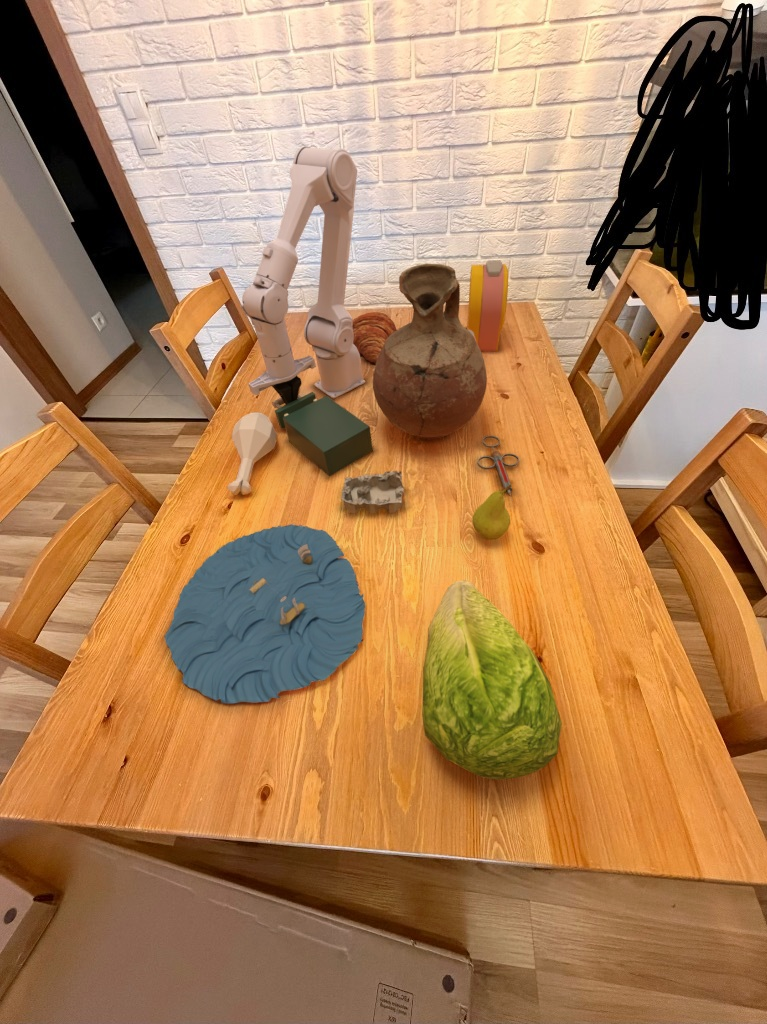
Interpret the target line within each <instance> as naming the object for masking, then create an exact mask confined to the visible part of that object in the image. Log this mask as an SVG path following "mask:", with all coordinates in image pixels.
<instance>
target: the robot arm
mask: <svg viewBox="0 0 767 1024" xmlns="http://www.w3.org/2000/svg"><path fill="white" fill-rule="evenodd" d="M289 176H290V180H291V187H290V190H289V194H288V198H287V201H286V204H285V208H284V211H283V215H282V219H281V222H280V226H279V229H278V233H277V237H276V238H275V239H273V240H271V241H268V242H267V244H266V246H265V247H263V250H262V257H261V260H260V263H259V266H258V269H257V271H256V274H255V277H254V279H253V283H251V284H249V286H247V287H246V288H245V290H244V291H243V293H242V297H241V298H242V300H241V301H242V304H241V305H240V308H241V310H242V312H243V313H244V314H245V315H246V316H247V317H248V318H249V319H250V321H251V325H252V326H253V327H254V330H255V334H256V337H257V341H258V344H259V348H260V352H261V355H262V358H263V361H264V365H265V369H266V370H265V371H264V372H263V373H262V374H260V375H259V376H258V377H257V378H255V379H254V380H251V382H248V387H249V390H250V393H252V394H253V395H254V396H258V395H260V393H261V392H262V391H264V390H266V389H268V388H271V387H272V388H273V389H274V390H275V392H276V393H277V394H278V395H279V398H282V400H283V401H284V405H286V404H289V403H291V402H293V401H295V400H297V399H298V394H299V392H300V389H301V386H302V379H301V377H299V374H301V373H302V372H304V371H307V370H309V369H312V370H313V369H316V367H317V369H318V374H319V379H320V380H318V381H316V382H315V383H314V384H313V386H314V387H315V388H317V389H318V390H320V392H322V393H324V394H325V395H326V396H327V397H329V398H330V399H332V400H333V399H336V398H339V397H340V396H342V395H344V394H346V393H348V392H350V391H352V390H354V389H356V388H357V387H360V386H362V385H364V384H365V383H366V380H365V379H364V375H363V367H362V359H361V354H360V353H359V352H358V349H357V348H356V346H355V345H354V344H353V340H354V334H353V328H352V324H353V317H352V315H351V314H350V312H349V311H348V310H347V309H346V307H345V300H346V299H345V297H346V290H347V279H348V270H349V261H350V250H351V241H352V234H353V233H352V230H353V224H354V223H353V221H354V211H355V197H356V189H357V188H356V186H357V179H358V177H357V176H358V169H357V166H356V164H355V162H354V160H353V158H352V156H351V154H350V153H349V152H348V150H346V149H344V148H337V149H334V148H321V147H319V148H318V147H311V146H306V145H303V146H301V147H300V148H298V149H297V151H296V152H295V154H294V157H293V163H292V165H291V167H290V168H289ZM317 206H319V207H320V209H321V211H322V212H323V216H324V217H323V229H322V243H321V255H320V268H319V280H318V281H319V282H318V294H317V302H316V303H315V304H314V305H313V306H312V307H310V308H309V309H308V313H307V314H308V316H307V319H306V322H305V325H304V327H303V337H304V340H305V342H306V343H307V344H308V345H310V346H311V348H312V349H311V350H312V351H313V352H314V354H315V358H316V360H315V358H314V357H312V356H311V355H307V356H304V357H301V358H297V359H295V357H294V354H293V349H292V346H291V345H292V344H291V340H290V337H289V332H288V328H287V324H286V320H285V317H286V315H287V313H288V312H289V300H288V297H289V286H290V283H291V281H292V280H293V279H292V278H293V276H294V273H295V271H296V268H297V265H298V262H299V257H298V255H297V250H296V248H297V245H298V243H299V242H300V240H301V237H302V235H303V232H304V230H305V229H306V226H307V224H308V222H309V220H310V217H311V215H312V213H313V210H314V208H315V207H317ZM316 362H317V366H316Z"/></svg>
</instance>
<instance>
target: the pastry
mask: <svg viewBox="0 0 767 1024" xmlns="http://www.w3.org/2000/svg"><path fill="white" fill-rule="evenodd" d="M352 328H353V334H354V340H353V344H354V345H355V346H356V348H357V349H358V352H359V354H360V355H361V356H363V357H364V359H365V360H367V361H368V362H370V363H372V364H376V361H377V359H378V356H379V354H380V352H381V349H382V348H383V346H384V344H385V341H386V339H387V338H388V337H389V336H390V335H391V334H392V333H393V332H395V331H396V330H397V326H396V324H395V322H394V321H393V319H392V318H390V317H389V316H388V314H386V313H383V312H380V311H379V312H378V311H371V312H366V313H363V314H360V315H359V316H357V317H355V318H354V319H353V324H352Z"/></svg>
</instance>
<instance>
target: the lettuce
mask: <svg viewBox="0 0 767 1024" xmlns="http://www.w3.org/2000/svg"><path fill="white" fill-rule="evenodd" d="M424 655H425V656H424V660H423V661H424V662H423V667H422V704H421V705H422V706H421V707H422V709H421V715H422V723H423V731H424V736H425V738H427V740H428V741H429V742H430V744H432V745H433V747H435V748H436V750H437V751H438V752H439V753H440V754H441V755H442V756H443V757H444V758H445V759H446V760H447V761H449V762H450V763H453V764H455V765H456V766H458V767H460V768H462V769H464V770H466V771H468V772H469V773H471V774H473V775H475V776H477V777H481V778H484V779H488V780H495V781H502V780H512V779H517V778H522V777H526V776H529V775H531V774H535V773H537V772H538V771H540V770H542V769H543V768H545V767H547V765H548V764H549V763H551V761H552V760H553V759H554V758H555V757H556V756H557V755H558V752H559V746H560V738H561V732H562V724H563V723H562V719H561V715H560V712H559V710H558V706H557V703H556V699H555V696H554V692H553V688H552V685H551V681H550V680H549V678H548V676H547V674H546V672H545V670H544V668H543V666H542V665H541V663H540V661H539V659H538V657H537V656H536V654H535V652H534V650H533V649H532V648H531V647H530V646H529V645H528V643H527V642H526V641H525V640H524V638H523V637H522V636H521V634H519V632H518V631H517V629H516V628H515V627H514V625H512V623H511V622H510V621H509V619H508V617H506V616H505V615H504V614H503V613H502V612H501V611H500V609H498V607H497V606H496V605H494V604H493V603H492V602H491V601H490V600H489V599H488V598H487V597H486V596H485V595H484V594H483V593H482V592H480V591H479V590H478V589H477V587H476V586H475V584H473V582H471V581H468V580H465V579H462V580H457V581H454V582H452V583H451V584H450V585H449V586H448V587H447V589H446V591H444V594H443V596H442V598H441V601H440V603H439V605H438V607H437V609H436V610H435V612H434V615H433V617H432V619H431V621H430V624H429V625H428V628H427V643H426V650H425V654H424Z"/></svg>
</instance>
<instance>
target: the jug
mask: <svg viewBox="0 0 767 1024" xmlns="http://www.w3.org/2000/svg"><path fill="white" fill-rule="evenodd" d="M398 282H399V285H398V289H399V292H400V293H401V294H403V295H404V297H405V299H406V300H407V301H408V302H409V303H410V304H411V306H412V309H413V312H412V318H411V319H412V320H411V322H408V323H406V324H405V325H402V327H399V328H398V329H396V331H395V332H393V333H392V334H391V335H390V336H389V337H388V338H387V339H386V341H385V344H384V346H383V348H382V349H381V352H380V354H379V356H378V359H377V361H376V363H375V366H374V370H373V375H372V391H373V396H374V398H375V400H376V403H377V406H378V408H379V409H380V411H381V412H382V413H383V415H384V416H385V417H386V419H387V420H388V421H389V422H390V423H391V424H392V425H394V426H395V427H396V428H398V429H399V430H401V431H402V432H405V433H406V434H408V435H412V436H414V437H416V438H421V439H423V440H437V439H440V438H443V437H445V436H447V435H450V434H452V433H455V432H457V431H459V430H460V429H462V428H463V427H465V426H466V425H467V424H468V423H469V422H470V421H471V420H472V419H473V417H474V416H475V415H476V414H477V412H478V410H479V409H480V407H481V405H482V403H483V400H484V398H485V395H486V390H487V385H488V382H487V381H488V377H487V367H486V363H485V359H484V355H483V353H482V351H480V348H479V346H478V344H477V342H476V341H475V339H474V337H473V335H472V334H471V333H470V332H469V331H468V330H467V327H465V326H463V324H462V323H461V320H460V317H459V315H460V302H461V301H460V299H461V285H460V283H459V280H458V279H457V276H456V270H455V268H454V267H451V266H449V265H446V264H442V263H421V264H416V265H413V266H410V267H409V268H407V269H405V270H404V271H402V272H401V274H400V275H399V277H398Z"/></svg>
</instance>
